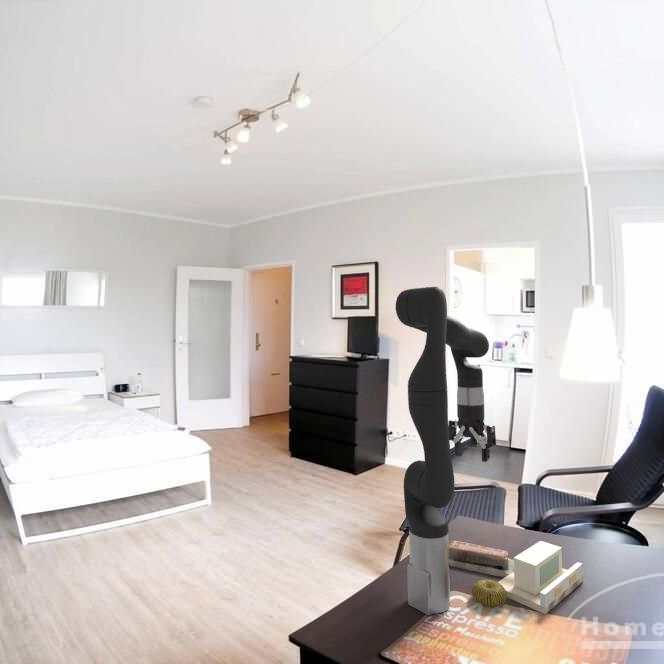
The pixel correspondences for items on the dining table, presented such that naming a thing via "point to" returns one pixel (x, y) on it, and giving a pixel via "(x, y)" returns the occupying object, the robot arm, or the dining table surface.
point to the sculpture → (489, 593)
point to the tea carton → (537, 567)
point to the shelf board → (532, 599)
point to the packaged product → (480, 559)
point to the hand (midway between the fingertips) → (471, 458)
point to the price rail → (561, 584)
